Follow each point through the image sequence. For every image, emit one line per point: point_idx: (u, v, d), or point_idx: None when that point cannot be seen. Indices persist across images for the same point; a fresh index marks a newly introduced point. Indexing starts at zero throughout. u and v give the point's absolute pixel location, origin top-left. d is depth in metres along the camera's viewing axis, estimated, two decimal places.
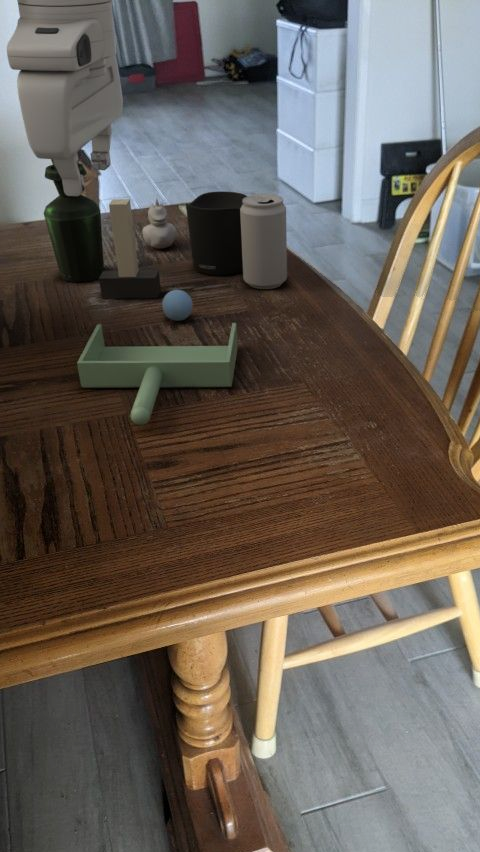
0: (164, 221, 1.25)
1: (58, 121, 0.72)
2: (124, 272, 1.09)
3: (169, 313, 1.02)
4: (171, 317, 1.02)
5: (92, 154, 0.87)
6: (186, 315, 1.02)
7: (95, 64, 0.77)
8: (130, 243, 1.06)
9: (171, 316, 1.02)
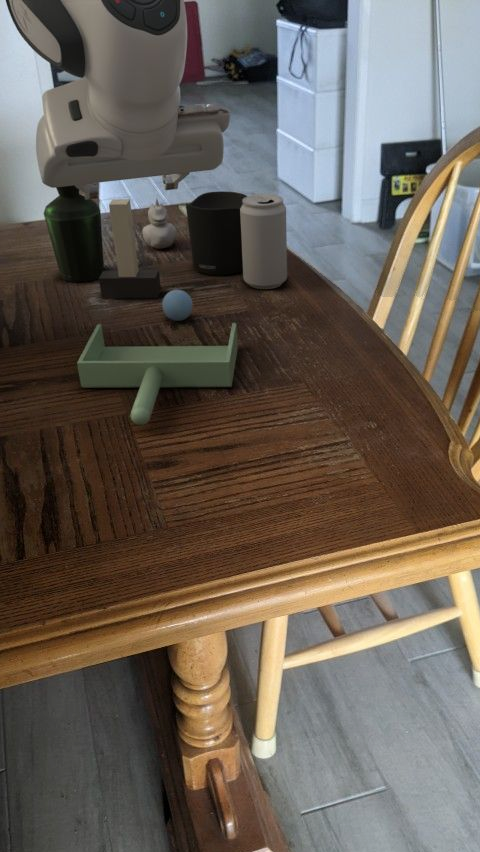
0: (164, 221, 1.25)
1: (41, 167, 0.82)
2: (124, 272, 1.09)
3: (169, 313, 1.02)
4: (171, 317, 1.02)
5: None
6: (186, 315, 1.02)
7: None
8: (130, 243, 1.06)
9: (171, 316, 1.02)
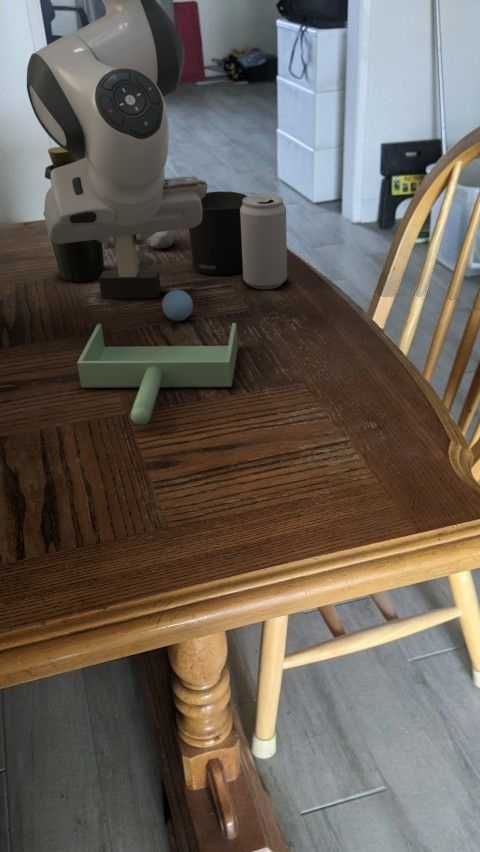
0: None
1: (49, 229, 0.98)
2: (124, 272, 1.09)
3: (169, 313, 1.02)
4: (171, 317, 1.02)
5: None
6: (186, 315, 1.02)
7: None
8: (130, 243, 1.06)
9: (171, 316, 1.02)
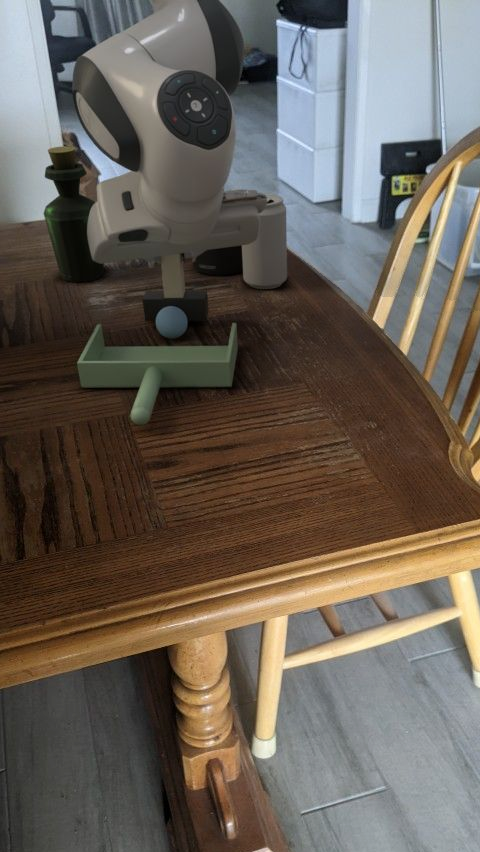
0: None
1: (93, 248, 0.88)
2: (170, 292, 0.99)
3: None
4: None
5: None
6: None
7: None
8: (178, 261, 0.97)
9: None
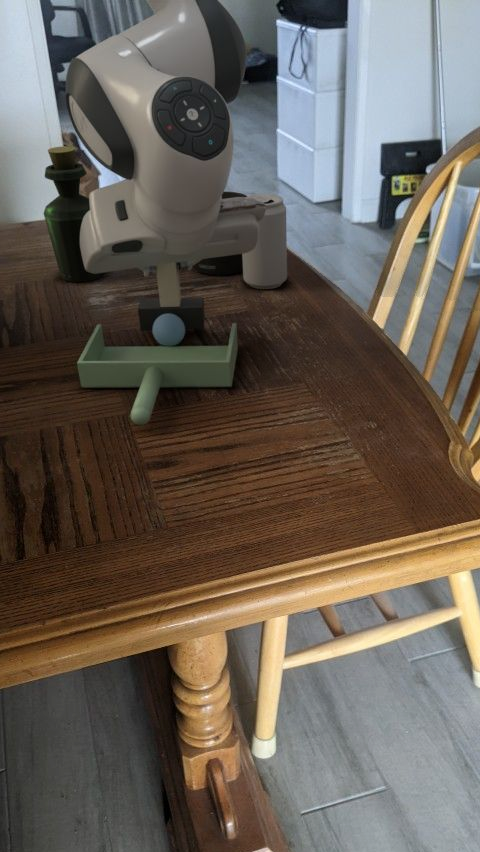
0: None
1: (85, 258, 0.85)
2: (167, 302, 0.97)
3: None
4: (162, 315, 0.96)
5: None
6: (178, 317, 0.96)
7: None
8: (174, 270, 0.94)
9: None
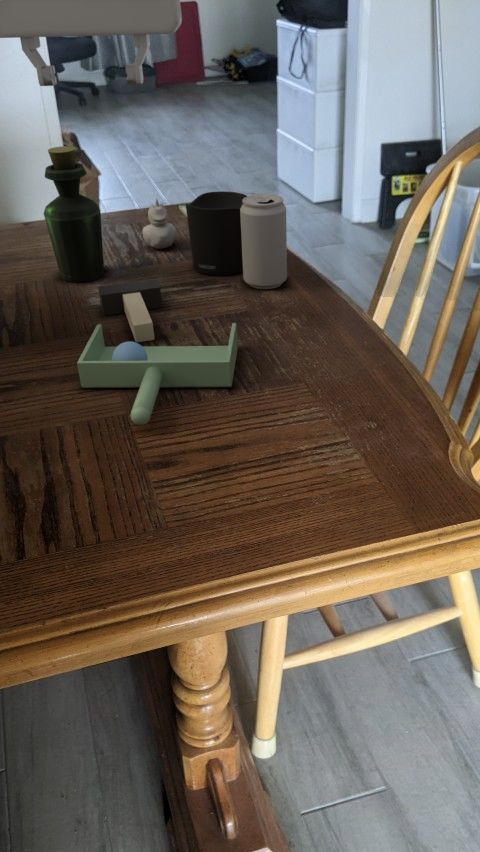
0: (164, 221, 1.25)
1: None
2: None
3: None
4: None
5: (128, 64, 0.83)
6: None
7: None
8: None
9: None
